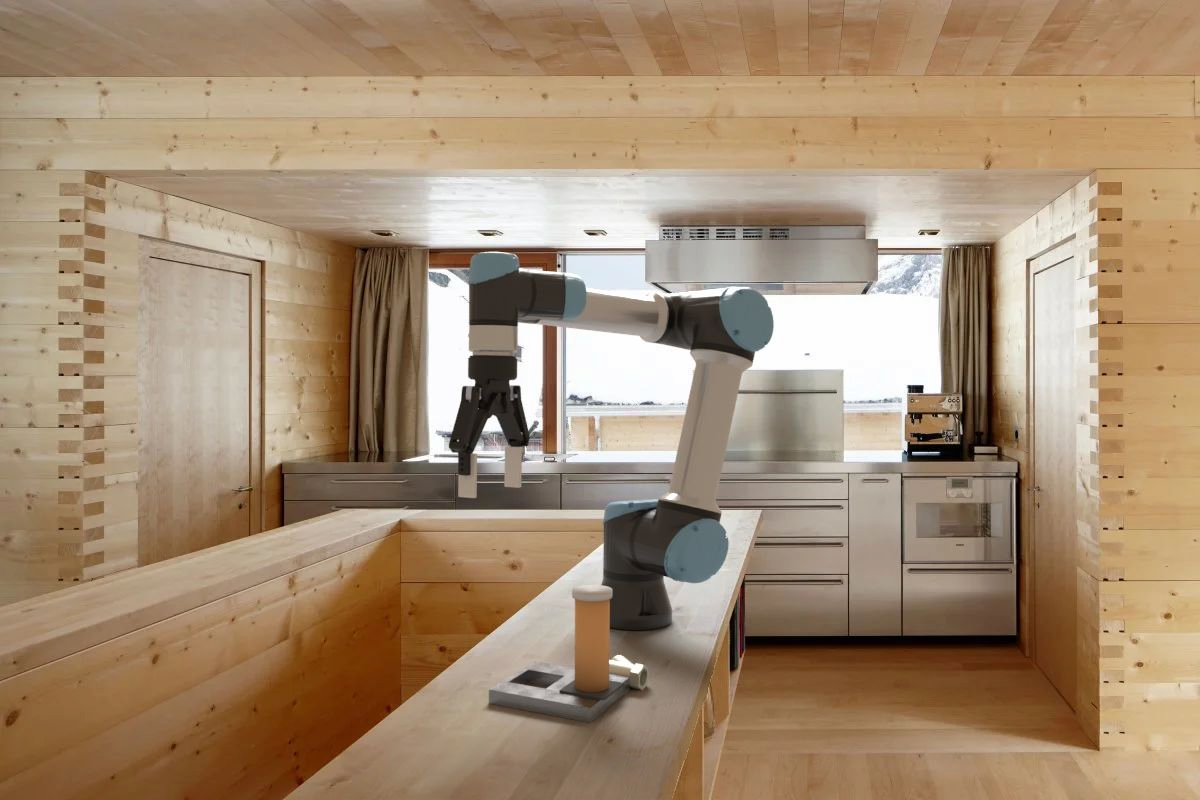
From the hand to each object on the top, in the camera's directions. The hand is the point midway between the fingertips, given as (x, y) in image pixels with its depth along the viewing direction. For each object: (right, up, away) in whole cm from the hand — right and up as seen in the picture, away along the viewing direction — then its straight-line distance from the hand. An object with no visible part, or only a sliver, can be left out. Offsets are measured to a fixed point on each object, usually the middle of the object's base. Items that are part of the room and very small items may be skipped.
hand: (491, 492), depth 141 cm
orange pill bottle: (+16, -27, -10) cm, 33 cm away
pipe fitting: (+21, -30, 0) cm, 36 cm away
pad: (+16, -27, -10) cm, 33 cm away
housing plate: (+11, -29, -8) cm, 32 cm away
